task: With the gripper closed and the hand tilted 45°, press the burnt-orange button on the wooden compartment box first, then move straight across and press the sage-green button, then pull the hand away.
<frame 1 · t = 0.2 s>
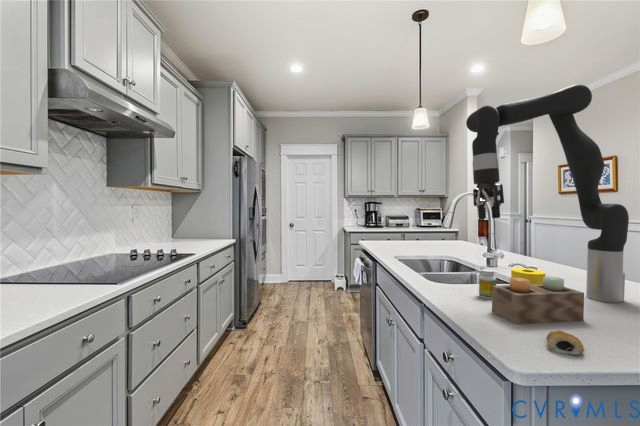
hand: (488, 218, 102), 28 cm above the countertop, tool pointing down, fingers open, 8 cm apart
orange button: (519, 284, 91), point 10 cm above the countertop, slide at 0.0 cm
sage button: (553, 283, 93), point 10 cm above the countertop, slide at 0.0 cm
wooden compartment box: (535, 315, 92), on the countertop
tape roll: (527, 298, 111), on the countertop
supplement bottle: (487, 297, 111), on the countertop
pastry: (562, 349, 72), on the countertop
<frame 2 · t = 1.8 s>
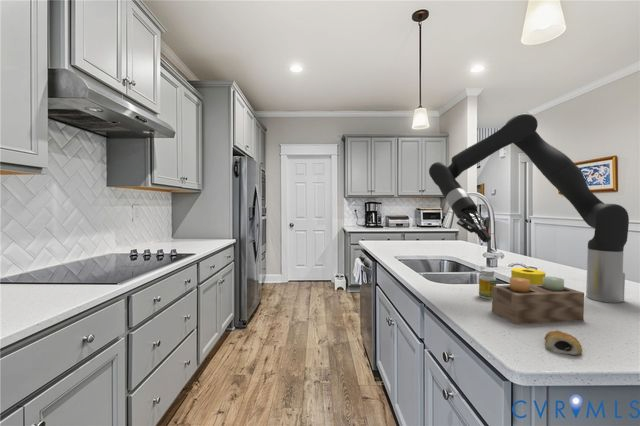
hand: (487, 240, 103), 21 cm above the countertop, tool tilted 45°, fingers closed
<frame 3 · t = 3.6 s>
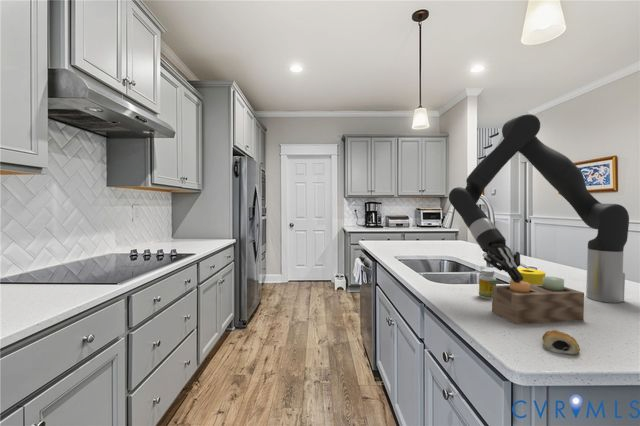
hand: (519, 280, 91), 11 cm above the countertop, tool tilted 45°, fingers closed
orange button: (519, 287, 91), point 9 cm above the countertop, slide at 0.9 cm, touching gripper
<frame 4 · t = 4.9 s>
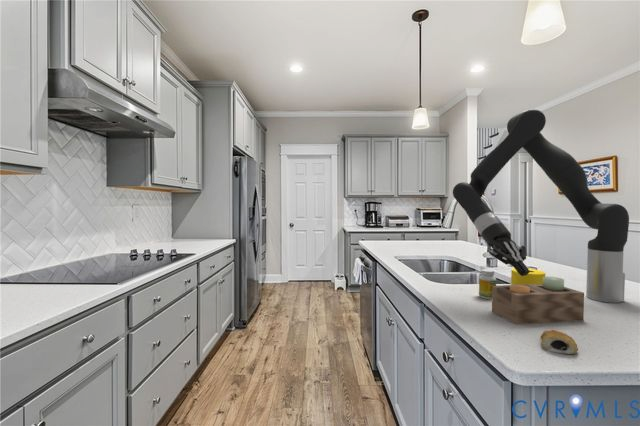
hand: (525, 274, 91), 13 cm above the countertop, tool tilted 45°, fingers closed
orange button: (519, 291, 91), point 7 cm above the countertop, slide at 2.1 cm
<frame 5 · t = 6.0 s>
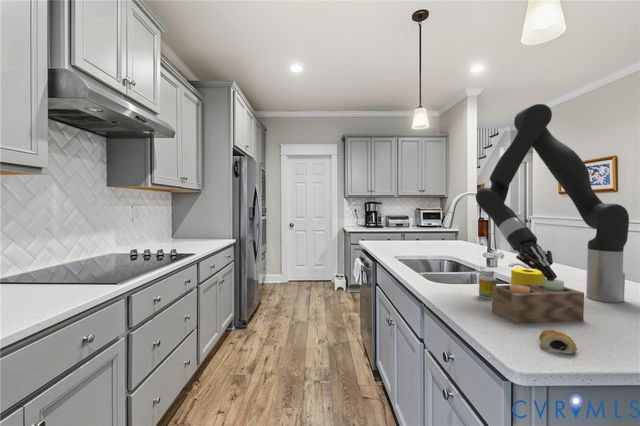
hand: (553, 278, 93), 11 cm above the countertop, tool tilted 45°, fingers closed
sage button: (553, 285, 93), point 9 cm above the countertop, slide at 0.7 cm, touching gripper
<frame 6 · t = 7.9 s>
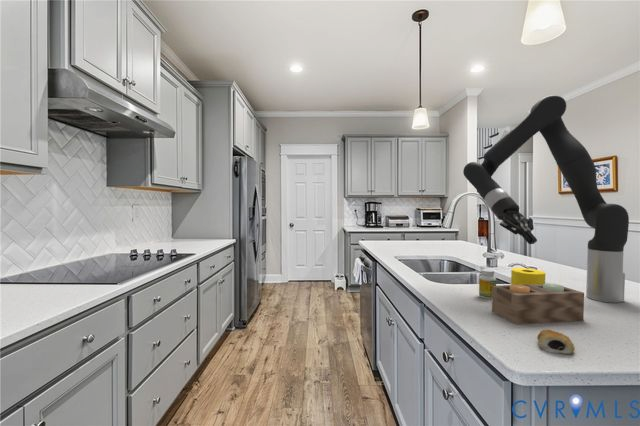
hand: (533, 242, 99), 21 cm above the countertop, tool tilted 45°, fingers closed
sage button: (553, 290, 93), point 7 cm above the countertop, slide at 2.1 cm
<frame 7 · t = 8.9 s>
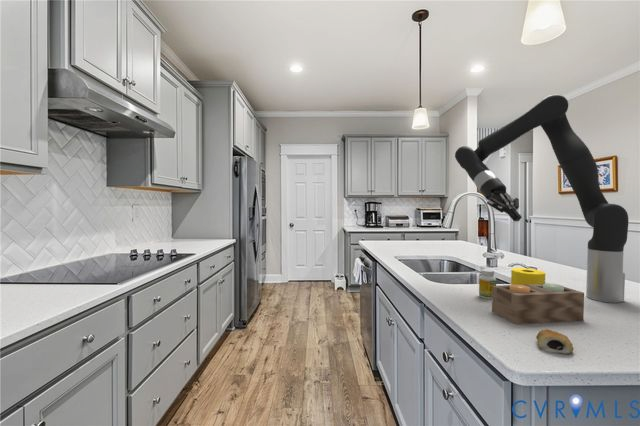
hand: (518, 219, 105), 28 cm above the countertop, tool tilted 45°, fingers closed
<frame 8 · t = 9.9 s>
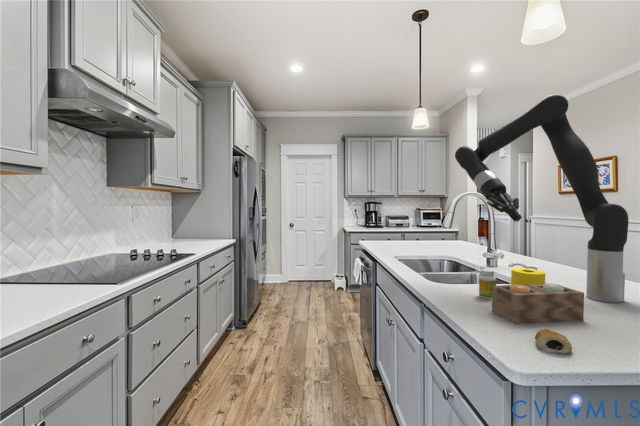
hand: (518, 219, 105), 28 cm above the countertop, tool tilted 45°, fingers closed
at the end: orange button slide at 2.1 cm; sage button slide at 2.1 cm; supplement bottle moved 0.2 cm from its start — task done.
